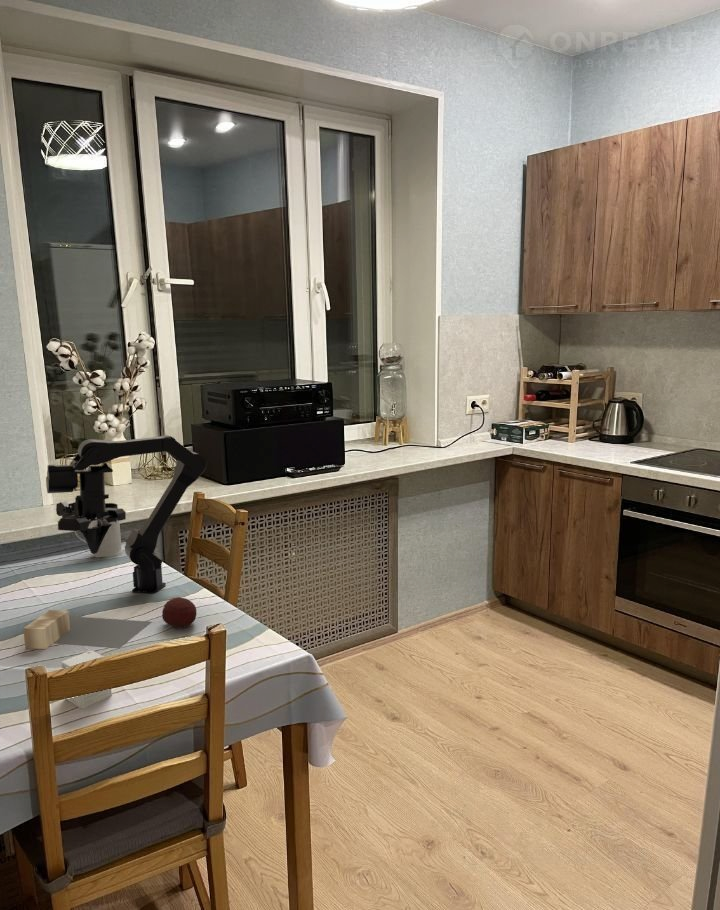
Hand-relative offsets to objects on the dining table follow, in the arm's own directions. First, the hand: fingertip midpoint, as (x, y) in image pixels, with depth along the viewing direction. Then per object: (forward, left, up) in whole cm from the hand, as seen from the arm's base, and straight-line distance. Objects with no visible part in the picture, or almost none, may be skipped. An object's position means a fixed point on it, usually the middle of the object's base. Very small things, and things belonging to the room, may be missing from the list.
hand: (94, 553), depth 172 cm
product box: (-26, +45, -12) cm, 53 cm away
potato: (-28, +12, -12) cm, 33 cm away
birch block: (-3, +19, -10) cm, 21 cm away
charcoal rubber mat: (-10, +19, -12) cm, 24 cm away
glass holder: (+21, -34, -12) cm, 42 cm away
